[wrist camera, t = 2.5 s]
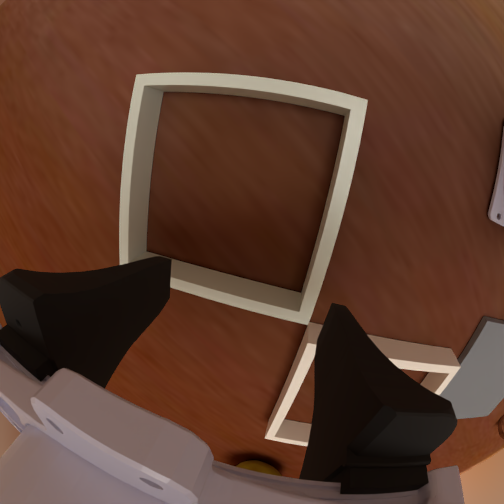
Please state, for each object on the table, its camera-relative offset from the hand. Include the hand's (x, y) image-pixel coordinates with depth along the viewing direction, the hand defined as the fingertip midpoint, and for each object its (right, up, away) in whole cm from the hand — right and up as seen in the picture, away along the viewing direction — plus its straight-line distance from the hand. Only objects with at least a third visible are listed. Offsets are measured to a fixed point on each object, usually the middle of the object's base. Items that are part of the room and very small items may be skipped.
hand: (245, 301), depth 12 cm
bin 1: (-1, +6, +6) cm, 8 cm away
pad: (+25, -11, +6) cm, 28 cm away
